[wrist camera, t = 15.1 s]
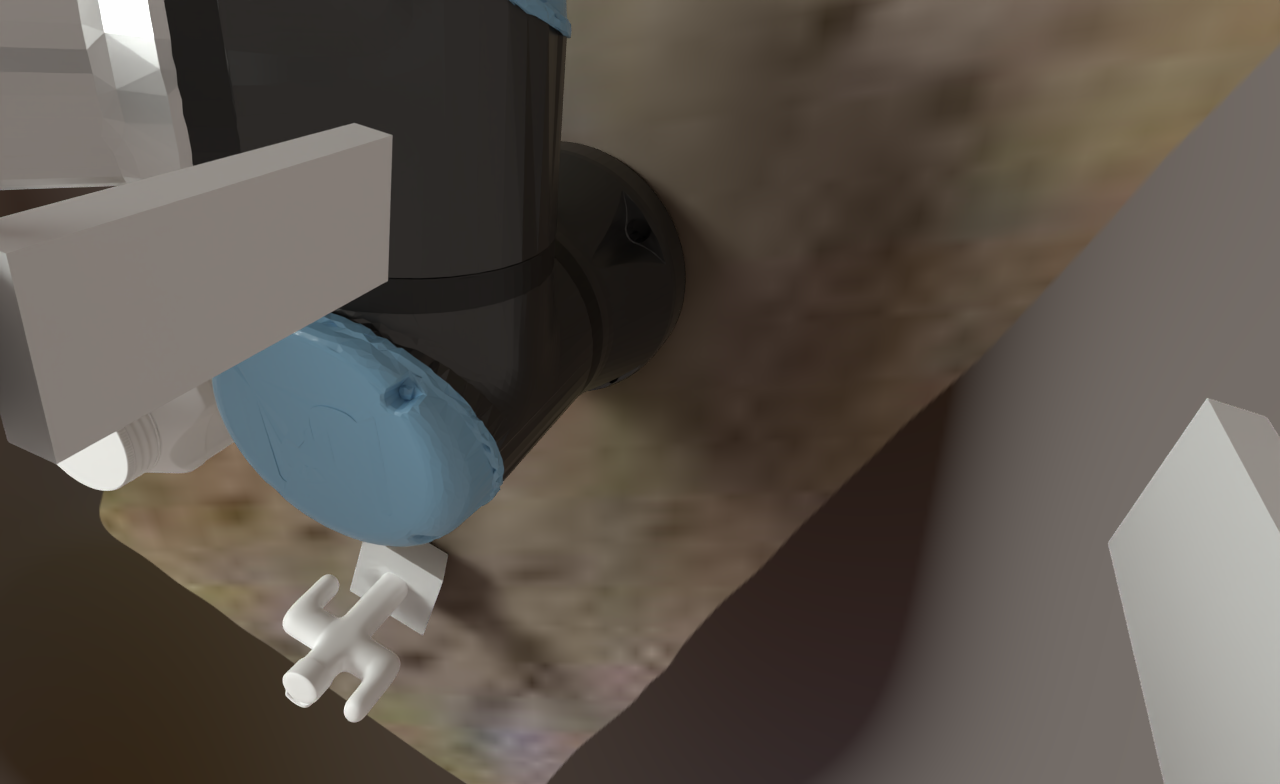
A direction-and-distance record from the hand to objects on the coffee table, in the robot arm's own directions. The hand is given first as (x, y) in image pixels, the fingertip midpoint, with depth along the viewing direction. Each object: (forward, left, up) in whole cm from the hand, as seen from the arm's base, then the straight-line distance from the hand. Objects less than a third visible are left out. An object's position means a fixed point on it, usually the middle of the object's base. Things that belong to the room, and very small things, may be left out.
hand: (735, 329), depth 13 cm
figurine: (-24, -45, -32) cm, 60 cm away
